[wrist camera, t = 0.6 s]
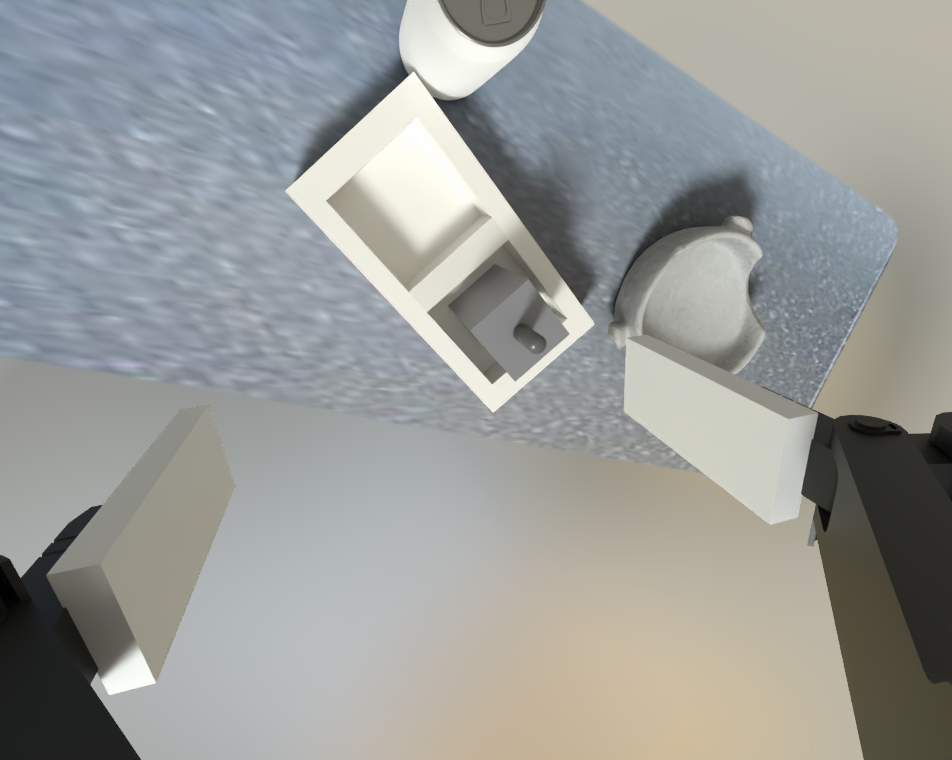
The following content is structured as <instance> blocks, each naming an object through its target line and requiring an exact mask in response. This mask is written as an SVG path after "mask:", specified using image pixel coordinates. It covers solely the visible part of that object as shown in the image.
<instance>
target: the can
mask: <svg viewBox="0 0 952 760" xmlns="http://www.w3.org/2000/svg"><path fill="white" fill-rule="evenodd" d="M545 3H546V0H407V3H406V7H405V10H404V14H403V17H402V21H401V26H400V32H399V48H400V54H401V58H402V61H403V64H404V67H405V69H406V71H407V73H408V75H410V74H411V73H412V72H415V74H416V75H417V77H418V78H419V79H420V81H421V82H422V84H423V85H424V86H425V88H426V89H427V91H428V92H429V93H430V95H431V96H432V97H435V98H438V99H441V100H457V99H461V98H463V97H466V96H468V95H470V94H471V93H473V92H474V91H475V90H477V89H478V88H479V87H480V86H481V85H483V84H484V83H485V82H486V81H487V80H489V79H490V78H491V77H492V76H493V75H495V74H496V73H497V72H498V71H499V70H500V69H502V68H503V67H504V66H505V65H506V64H507V63H509V62H510V61H511V60H512V59H513V58H514V57H515V56H516V55H518V54H519V53H520V52H521V51H522V50H523V49H524V47H525V46H526V45H527V44H528V42H529V41H530V40H531V38H532V37H533V35H534V33H535V31H536V29H537V27H538V25H539V22H540V19H541V16H542V12H543V9H544V6H545Z"/></svg>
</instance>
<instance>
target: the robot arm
mask: <svg viewBox="0 0 952 760" xmlns="http://www.w3.org/2000/svg"><path fill="white" fill-rule="evenodd" d="M624 412H625V413H627V414H628V415H629V416H631V417H632V418H633V419H634V420H636V421H637V422H638V423H640V424H641V425H642V426H643V427H645V428H646V429H647V430H649V431H650V432H651V433H652V434H654V435H655V436H656V437H658V438H659V439H660V440H661V441H663V442H664V443H665V444H667V445H668V446H669V447H670V448H672V449H673V450H674V451H676V452H677V453H678V454H679V455H681V456H682V457H683V458H685V459H686V460H687V461H689V462H690V463H691V464H692V465H694V466H695V467H696V468H698V469H699V470H700V471H701V472H703V473H704V474H705V475H707V476H708V477H709V478H711V479H712V480H713V481H714V482H716V483H717V484H718V485H719V486H721V487H722V488H723V489H725V490H726V491H727V492H729V493H730V494H731V495H732V496H734V497H735V498H736V499H737V500H739V501H740V502H741V503H743V504H744V505H745V506H747V507H748V508H749V509H750V510H752V511H753V512H754V513H756V514H757V515H758V516H760V517H761V518H762V519H763V520H765V521H766V522H767V523H769V524H770V525H771V524H775V523H779V522H783V521H786V520H791V519H794V518H797V517H798V513H799V508H800V503H801V498H802V495H803V496H805V497H806V498H808V499H809V500H811V501H813V502H814V503H816V507H815V512H814V516H813V521H812V526H811V530H810V536H809V540H808V545H809V546H813V545H814V541H815V540H818V544H819V549H820V554H821V559H822V563H823V568H824V573H825V577H826V582H827V587H828V591H829V597H830V601H831V606H832V611H833V615H834V620H835V625H836V630H837V634H838V639H839V644H840V649H841V653H842V658H843V662H844V668H845V672H846V677H847V681H848V686H849V691H850V695H851V701H852V705H853V710H854V715H855V720H856V724H857V729H858V734H859V738H860V743H861V748H862V753H863V758H864V760H952V412H946V413H941V414H938V415H936V418H935V421H934V424H933V427H932V430H931V433H926V434H908V432H907V431H906V430H904V429H903V428H902V427H901V426H899V425H897V424H895V423H892V422H890V421H887V420H883V419H880V418H876V417H871V416H863V415H847V416H840V417H838V418H836V419H833V418H831V417H828V416H826V415H824V414H822V413H820V412H817V411H815V410H813V409H811V408H809V407H806V406H804V405H802V404H800V403H798V402H793V400H791V399H789V398H787V397H784V396H780V394H778V393H776V392H773V391H771V390H769V389H767V388H765V387H761V386H758V385H756V384H754V383H752V382H750V381H747V380H745V379H743V378H741V377H739V376H736V375H734V374H732V373H730V372H728V371H726V370H723V369H721V368H719V367H717V366H715V365H712V364H710V363H708V362H706V361H704V360H701V359H699V358H697V357H695V356H693V355H691V354H688V353H686V352H684V351H682V350H680V349H677V348H675V347H673V346H671V345H669V344H666V343H664V342H662V341H660V340H658V339H655V338H653V337H651V336H649V335H641V336H634V337H628V338H626V363H625V392H624ZM234 487H235V483H234V480H233V477H232V474H231V471H230V468H229V465H228V461H227V458H226V455H225V452H224V449H223V445H222V442H221V439H220V436H219V433H218V430H217V426H216V423H215V420H214V417H213V414H212V410H211V407H210V404H208V405H202V406H196V407H190V408H183V409H180V410H179V411H178V413H177V414H176V415H175V416H174V418H173V419H172V420H171V421H170V423H169V424H168V425H167V426H166V428H165V429H164V430H163V431H162V432H161V434H160V435H159V436H158V437H157V439H156V440H155V441H154V442H153V444H152V445H151V446H150V447H149V449H148V450H147V451H146V452H145V453H144V455H143V456H142V457H141V458H140V460H139V461H138V462H137V463H136V465H135V466H134V467H133V468H132V470H131V471H130V472H129V473H128V475H127V476H126V477H125V478H124V479H123V481H122V482H121V483H120V484H119V486H118V487H117V488H116V489H115V491H114V492H113V493H112V494H111V496H110V497H109V498H108V499H107V501H106V502H105V503H104V504H103V505H99V506H94V507H91V508H89V509H88V510H87V511H85V512H84V513H82V514H81V515H80V516H78V517H77V518H75V519H74V520H73V521H71V522H70V523H68V525H67V526H66V527H65V528H64V529H63V530H62V532H61V533H60V534H59V535H58V536H57V537H56V538H55V540H54V543H51V544H50V545H49V546H48V548H47V549H46V550H45V551H44V552H43V553H42V557H39V558H38V559H37V560H36V561H35V563H34V564H33V565H32V566H31V567H30V568H29V569H28V571H27V572H26V573H25V574H24V575H23V576H22V577H21V579H20V577H19V575H18V573H17V571H16V570H15V568H14V566H13V564H12V563H11V561H10V559H8V558H6V557H4V556H2V555H0V760H141V759H140V757H139V756H138V755H137V753H136V752H135V750H134V749H133V747H132V746H131V744H130V743H129V741H128V740H127V738H126V737H125V735H124V734H123V732H122V731H121V729H120V728H119V727H118V725H117V724H116V722H115V721H114V719H113V718H112V716H111V715H110V713H109V712H108V710H107V709H106V708H105V706H104V705H103V703H102V701H101V700H100V699H99V697H98V696H97V694H96V693H95V691H94V690H93V688H92V687H91V685H90V684H91V682H92V680H93V678H94V677H95V675H96V673H98V675H99V677H100V679H101V680H102V683H103V684H104V686H105V688H106V690H107V692H108V694H109V695H111V694H115V693H119V692H123V691H127V690H130V689H134V688H138V687H142V686H146V685H150V684H154V683H156V682H157V679H158V677H159V674H160V672H161V669H162V667H163V664H164V661H165V659H166V657H167V654H168V652H169V649H170V647H171V644H172V642H173V639H174V637H175V634H176V632H177V629H178V627H179V624H180V622H181V619H182V617H183V615H184V612H185V610H186V607H187V605H188V602H189V599H190V597H191V595H192V592H193V590H194V587H195V585H196V582H197V580H198V577H199V575H200V572H201V570H202V567H203V565H204V562H205V560H206V557H207V555H208V552H209V550H210V547H211V545H212V542H213V540H214V537H215V535H216V532H217V530H218V527H219V525H220V522H221V520H222V517H223V515H224V512H225V510H226V507H227V505H228V502H229V500H230V498H231V495H232V492H233V490H234Z"/></svg>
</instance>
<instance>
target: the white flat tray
mask: <svg viewBox="0 0 952 760" xmlns="http://www.w3.org/2000/svg"><path fill="white" fill-rule="evenodd" d="M286 192H287V193H288V195H289V196H290V197H291V198H292V199H293V200H294V201H295V202H296V203H297V204H298V205H299V206H300V207H301V208H302V209H303V211H304V212H305V213H306V214H307V215H308V216H309V217H310V218H311V219H312V220H313V221H314V222H315V223H316V224H317V225H318V227H319V228H320V229H321V230H322V231H323V232H324V233H325V234H326V235H327V236H328V237H329V238H330V239H331V240H332V241H333V243H334V244H335V245H336V246H337V247H338V248H339V249H340V250H341V251H342V252H343V253H344V254H345V255H346V256H347V257H348V259H349V260H350V261H351V262H352V263H353V264H354V265H355V266H356V267H357V268H358V269H359V270H360V271H361V272H362V273H363V274H364V276H365V277H366V278H367V279H368V280H369V281H370V282H371V283H372V284H373V285H374V286H375V287H376V288H377V289H378V290H379V292H380V293H381V294H382V295H383V296H384V297H385V298H386V299H387V300H388V301H389V302H390V303H391V304H392V305H393V306H394V308H395V309H396V310H397V311H398V312H399V313H400V314H401V315H402V316H403V317H404V318H405V319H406V320H407V321H408V322H409V324H410V325H411V326H412V327H413V328H414V329H415V330H416V331H417V332H418V333H419V334H420V335H421V336H422V337H423V338H424V340H425V341H426V342H427V343H428V344H429V345H430V346H431V347H432V348H433V349H434V350H435V351H436V352H437V353H438V354H439V356H440V357H441V358H442V359H443V360H444V361H445V362H446V363H447V364H448V365H449V366H450V367H451V368H452V369H453V370H454V371H455V373H456V374H457V375H458V376H459V377H460V378H461V379H462V380H463V381H464V382H465V383H466V384H467V385H468V386H469V387H470V389H471V390H472V391H473V392H474V393H475V394H476V395H477V396H478V397H479V398H480V399H481V400H482V401H483V402H484V403H485V405H486V406H487V407H488V408H489V409H490V410H491V411H492V412H495V411H496V410H497V409H498V408H499V407H500V406H501V405H503V404H504V403H505V402H506V401H507V400H508V399H509V398H511V397H512V396H513V395H514V394H515V393H516V392H518V391H519V390H520V389H521V388H522V387H523V386H524V385H526V384H527V383H528V382H529V381H530V380H531V379H532V378H534V377H535V376H536V375H537V374H538V373H539V372H540V371H542V370H543V369H544V368H545V367H546V366H547V365H548V364H550V363H551V362H552V361H553V360H554V359H555V358H557V357H558V356H559V355H560V354H561V353H562V352H563V351H565V350H566V349H567V348H568V347H569V346H570V345H571V344H573V343H574V342H575V341H576V340H577V339H578V338H579V337H581V336H582V335H583V334H584V333H585V332H586V331H587V330H589V329H590V328H591V327H592V326H593V325H594V322H593V321H592V319H591V318H590V317H589V315H588V314H587V312H586V311H585V310H584V308H583V307H582V305H581V304H580V303H579V301H578V300H577V298H576V297H575V296H574V294H573V293H572V292H571V290H570V289H569V287H568V286H567V285H566V283H565V282H564V280H563V279H562V278H561V276H560V275H559V273H558V272H557V271H556V269H555V268H554V266H553V265H552V264H551V262H550V261H549V259H548V258H547V257H546V255H545V254H544V252H543V251H542V250H541V248H540V247H539V245H538V244H537V243H536V241H535V240H534V238H533V237H532V236H531V234H530V233H529V232H528V230H527V229H526V227H525V226H524V225H523V223H522V222H521V220H520V219H519V218H518V216H517V215H516V213H515V212H514V211H513V209H512V208H511V206H510V205H509V204H508V202H507V201H506V199H505V198H504V197H503V195H502V194H501V192H500V191H499V190H498V188H497V187H496V185H495V184H494V183H493V181H492V180H491V179H490V177H489V176H488V174H487V173H486V172H485V170H484V169H483V167H482V166H481V165H480V163H479V162H478V160H477V159H476V158H475V156H474V155H473V153H472V152H471V151H470V149H469V148H468V146H467V145H466V144H465V142H464V141H463V139H462V138H461V137H460V135H459V134H458V132H457V131H456V130H455V128H454V127H453V125H452V124H451V123H450V121H449V120H448V119H447V117H446V116H445V114H444V113H443V112H442V110H441V109H440V107H439V106H438V105H437V103H436V102H435V100H434V99H433V98H432V96H431V95H430V93H429V92H428V91H427V89H426V88H425V86H424V85H423V84H422V82H421V81H420V79H419V78H418V77H417V75H416V74H415V72H412V73H411V74H410V75H409V76H408V77H407V78H406V79H405V80H404V81H403V82H402V83H401V84H400V85H399V86H397V87H396V88H395V89H394V90H393V91H392V92H391V93H390V94H389V95H388V96H387V97H386V98H385V99H383V100H382V101H381V102H380V103H379V104H378V105H377V106H376V107H375V108H374V109H373V110H372V111H371V112H369V113H368V114H367V115H366V116H365V117H364V118H363V119H362V120H361V121H360V122H359V123H358V124H357V125H356V126H354V127H353V128H352V129H351V130H350V131H349V132H348V133H347V134H346V135H345V136H344V137H343V138H342V139H340V140H339V141H338V142H337V143H336V144H335V145H334V146H333V147H332V148H331V149H330V150H329V151H328V152H327V153H325V154H324V155H323V156H322V157H321V158H320V159H319V160H318V161H317V162H316V163H315V164H314V165H313V166H311V167H310V168H309V169H308V170H307V171H306V172H305V173H304V174H303V175H302V176H301V177H300V178H299V179H297V180H296V181H295V182H294V183H293V184H292V185H291V186H290V187H289V188H288V189H287V190H286ZM494 264H496V265H498V266H500V267H502V268H504V269H507V270H509V271H511V272H513V273H515V274H518V275H520V276H522V277H524V278H526V279H529V281H530V282H531V283H532V285H533V286H534V287H535V289H536V290H537V291H538V293H539V294H540V295H541V297H542V298H543V299H544V301H545V302H546V303H547V305H548V306H549V307H550V309H551V310H552V311H553V313H554V314H555V315H556V317H557V318H558V319H559V320H560V322H561V323H562V324H563V326H564V327H565V328H566V330H567V331H568V332H569V335H568V336H567V337H566V338H565V339H564V340H563V341H561V342H560V343H559V344H558V345H557V346H556V347H555V348H553V349H552V350H551V351H550V352H549V353H548V354H547V355H545V356H544V357H543V358H542V359H541V360H540V361H538V362H537V363H536V364H535V365H534V366H533V367H532V368H530V369H529V370H528V371H527V372H526V373H525V374H524V375H522V376H521V377H520V378H519V379H518V380H517V381H516V382H515V381H514V380H513V379H512V378H511V377H510V376H509V374H508V373H507V372H506V371H505V370H504V369H503V368H502V367H501V366H500V364H499V363H498V362H497V361H496V360H495V359H494V358H493V357H492V356H491V354H490V353H489V352H488V351H487V350H486V349H485V348H484V347H483V346H482V344H481V343H480V342H479V341H478V340H477V339H476V338H475V336H474V335H473V334H472V333H471V332H470V331H469V329H468V328H467V327H466V326H465V325H464V324H463V323H462V321H461V320H460V319H459V318H458V317H457V316H456V315H455V313H454V312H453V311H452V310H451V309H450V308H449V307H448V305H449V304H450V303H452V302H453V301H454V300H455V299H456V298H457V297H458V296H459V295H461V294H462V293H463V292H464V291H465V290H466V289H467V288H468V287H469V286H471V285H472V284H473V283H474V282H475V281H476V280H477V279H478V278H480V277H481V276H482V275H483V274H484V273H485V272H486V271H487V270H489V269H490V268H491V267H492V266H493V265H494Z"/></svg>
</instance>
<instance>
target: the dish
mask: <svg viewBox="0 0 952 760" xmlns="http://www.w3.org/2000/svg"><path fill="white" fill-rule="evenodd" d="M752 232H753V225H752V223H751V221H750V220H749V219H748V218H747V217H742V216H730V217H726V218H725V219H724V221H723V223H722V225H721V226H704V227H693V228H687V229H682V230H679V231H676V232H673V233H671V234H669V235H667V236H665V237H663V238H661V239H659V240H658V241H656V242H655V243H654V244H652V245H651V246H650V247H648V248H647V249H646V250H645V251H644V252H643V253H642V254H641V255H640V256H639V258H638V259H637V260H636V261H635V263H634V264H633V265H632V267H631V268H630V270H629V271H628V273H627V275H626V277H625V279H624V281H623V283H622V286H621V288H620V291H619V294H618V297H617V300H616V304H615V311H614V322H611V323H610V324H609V328H608V338H609V339H610V340H611V341H612V342H613V343H614V344H615V346H616V347H617V348H621V349H622V351H623V352H624V354H625V356H626V338H628V337H634V336H641V335H649V336H651V337H653V338H655V339H658V340H660V341H662V342H664V343H666V344H669V345H671V346H673V347H675V348H677V349H680V350H682V351H684V352H686V353H688V354H691V355H693V356H695V357H697V358H699V359H701V360H704V361H706V362H708V363H710V364H712V365H715V366H717V367H719V368H721V369H723V370H726V371H728V372H730V373H732V374H734V375H735V374H736V373H738V372H739V371H740V370H741V369H742V368H744V367H745V365H746V364H747V363H748V362H749V361H750V360H751V359H752V358H753V356H754V355H755V353H756V351H757V350H758V348H759V347H760V345H761V344H762V342H763V340H764V338H765V335H766V331H765V328H764V326H763V325H762V323H761V322H760V320H759V319H758V317H757V316H756V314H755V312H754V310H753V307H752V304H751V301H750V297H749V293H748V281H749V275H750V272H751V270H752V268H753V266H754V265H755V263H756V261H757V260H759V259H760V258H761V257H762V256H763V249H762V248H761V246H760V245H759V243H758V242H757V241H756V240H755V239H754V238H753V237H752V236H751V233H752Z"/></svg>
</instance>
